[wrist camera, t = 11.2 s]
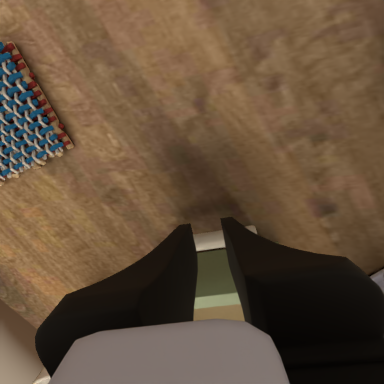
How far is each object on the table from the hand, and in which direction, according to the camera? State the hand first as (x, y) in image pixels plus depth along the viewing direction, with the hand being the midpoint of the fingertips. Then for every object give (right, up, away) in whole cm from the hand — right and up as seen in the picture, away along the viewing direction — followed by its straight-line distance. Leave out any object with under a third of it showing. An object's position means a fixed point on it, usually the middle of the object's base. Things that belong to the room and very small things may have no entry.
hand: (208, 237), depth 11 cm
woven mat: (-19, +10, +9) cm, 23 cm away
